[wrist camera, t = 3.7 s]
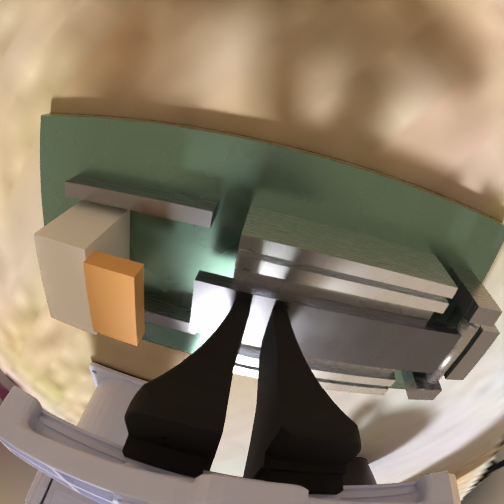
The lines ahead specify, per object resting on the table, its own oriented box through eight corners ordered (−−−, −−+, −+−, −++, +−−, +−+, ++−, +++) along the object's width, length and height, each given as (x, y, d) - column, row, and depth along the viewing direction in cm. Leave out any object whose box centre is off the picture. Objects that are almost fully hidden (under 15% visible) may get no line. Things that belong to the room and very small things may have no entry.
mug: (362, 433, 25) (369, 519, 17) (383, 466, 29) (388, 529, 21) (286, 450, 27) (280, 529, 19) (323, 479, 32) (322, 539, 24)
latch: (167, 296, 17) (137, 353, 13) (89, 273, 17) (49, 319, 13) (173, 218, 15) (134, 266, 11) (84, 198, 15) (31, 236, 11)
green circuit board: (410, 381, 20) (422, 427, 17) (64, 303, 20) (34, 340, 16) (507, 225, 14) (548, 262, 10) (49, 113, 13) (-5, 127, 10)
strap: (435, 369, 15) (440, 384, 14) (193, 326, 15) (186, 342, 14) (474, 315, 13) (482, 330, 12) (202, 254, 13) (195, 268, 12)
